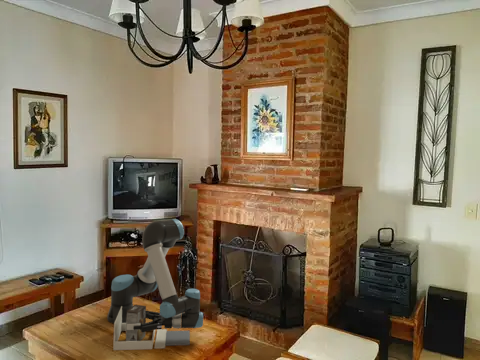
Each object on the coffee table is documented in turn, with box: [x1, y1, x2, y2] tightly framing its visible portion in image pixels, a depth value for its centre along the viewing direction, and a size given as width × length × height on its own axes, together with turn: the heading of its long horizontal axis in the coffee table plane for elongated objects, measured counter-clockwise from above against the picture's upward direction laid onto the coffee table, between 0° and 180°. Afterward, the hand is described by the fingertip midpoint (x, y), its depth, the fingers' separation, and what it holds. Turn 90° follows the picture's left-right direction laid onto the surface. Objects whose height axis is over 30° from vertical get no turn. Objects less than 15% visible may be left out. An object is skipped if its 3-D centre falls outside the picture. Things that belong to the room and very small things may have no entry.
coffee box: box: [125, 304, 147, 341], centre depth 187 cm, size 9×6×16 cm
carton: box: [112, 306, 168, 351], centre depth 188 cm, size 20×24×13 cm
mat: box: [165, 330, 191, 347], centre depth 191 cm, size 14×12×1 cm
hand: (128, 321), depth 187 cm, fingers open, 12 cm apart
